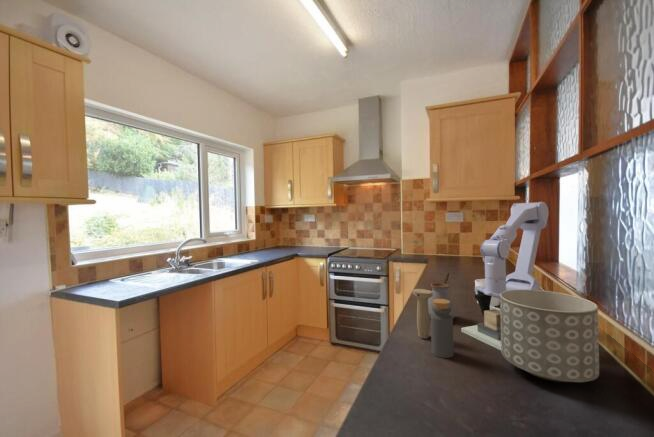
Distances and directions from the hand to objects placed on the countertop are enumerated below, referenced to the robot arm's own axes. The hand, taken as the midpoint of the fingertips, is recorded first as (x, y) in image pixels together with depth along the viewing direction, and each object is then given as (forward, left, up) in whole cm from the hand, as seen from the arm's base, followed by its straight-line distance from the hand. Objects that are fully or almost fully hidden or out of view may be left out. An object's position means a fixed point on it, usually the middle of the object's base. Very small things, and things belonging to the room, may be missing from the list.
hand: (496, 320), depth 91 cm
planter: (+6, +19, -6) cm, 21 cm away
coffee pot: (0, -24, -6) cm, 24 cm away
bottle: (+23, +2, -6) cm, 24 cm away
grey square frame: (-1, 0, -4) cm, 4 cm away
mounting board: (0, 0, -6) cm, 6 cm away
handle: (+21, -9, -6) cm, 24 cm away
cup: (-27, -27, -6) cm, 39 cm away
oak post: (0, 0, -4) cm, 4 cm away
